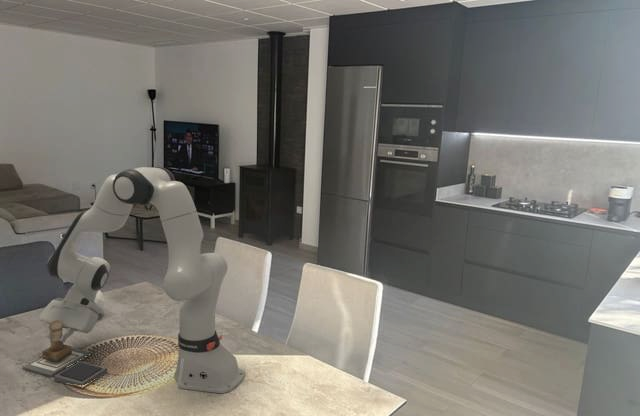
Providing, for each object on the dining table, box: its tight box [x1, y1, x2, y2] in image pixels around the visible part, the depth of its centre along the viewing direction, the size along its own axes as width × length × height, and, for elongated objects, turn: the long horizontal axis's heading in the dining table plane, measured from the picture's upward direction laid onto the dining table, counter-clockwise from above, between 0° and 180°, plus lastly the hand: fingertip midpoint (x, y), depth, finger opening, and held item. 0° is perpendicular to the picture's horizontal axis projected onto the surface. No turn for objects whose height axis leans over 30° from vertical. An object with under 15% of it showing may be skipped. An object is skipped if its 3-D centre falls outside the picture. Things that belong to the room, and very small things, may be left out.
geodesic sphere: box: [94, 289, 106, 309], centre depth 189 cm, size 14×14×14 cm
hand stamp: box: [41, 320, 73, 362], centre depth 154 cm, size 6×6×13 cm
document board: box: [22, 347, 92, 378], centre depth 155 cm, size 12×16×1 cm
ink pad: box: [53, 360, 108, 386], centre depth 147 cm, size 11×10×2 cm
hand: (55, 340), depth 153 cm, fingers closed on hand stamp, 4 cm apart
